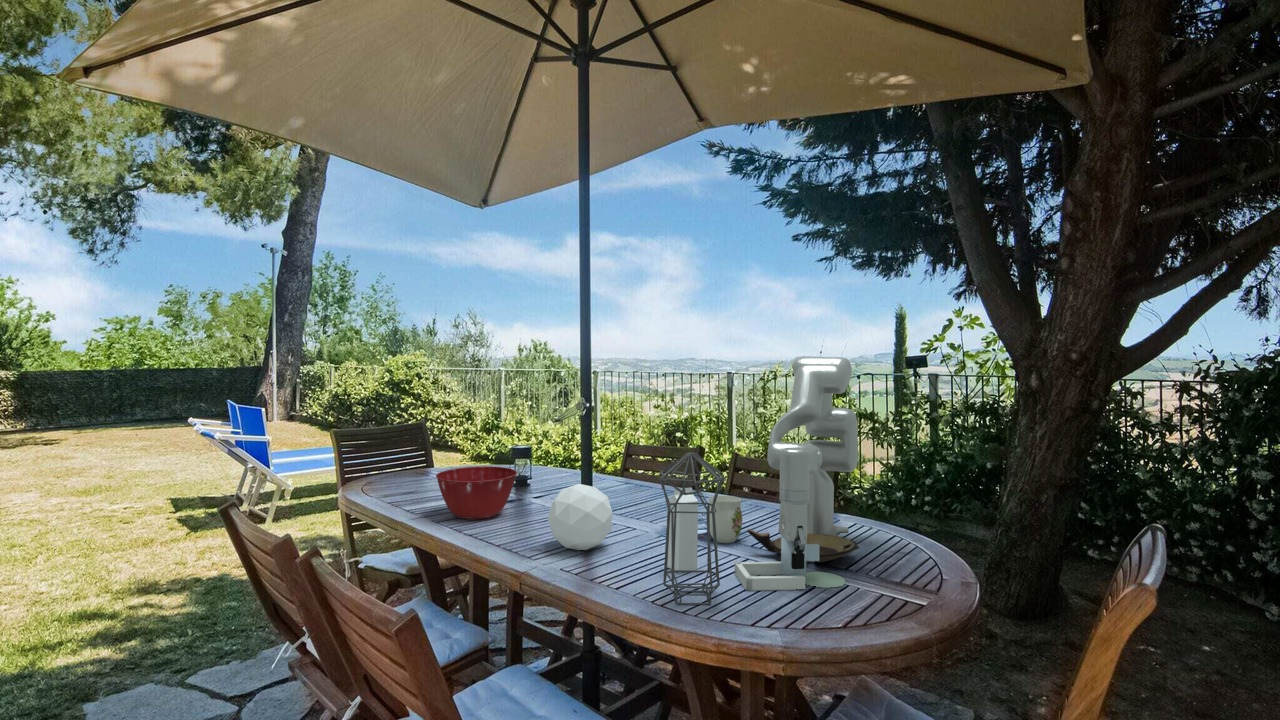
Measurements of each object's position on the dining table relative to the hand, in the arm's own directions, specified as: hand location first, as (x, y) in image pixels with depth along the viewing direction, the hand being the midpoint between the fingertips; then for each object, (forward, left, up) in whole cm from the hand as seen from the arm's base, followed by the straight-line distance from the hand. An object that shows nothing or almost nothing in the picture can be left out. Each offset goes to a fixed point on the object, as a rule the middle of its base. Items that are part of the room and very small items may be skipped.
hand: (793, 563), depth 171 cm
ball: (+56, -32, -5) cm, 64 cm away
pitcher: (+10, -39, -5) cm, 40 cm away
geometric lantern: (+29, +10, -5) cm, 31 cm away
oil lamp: (-9, -20, -5) cm, 22 cm away
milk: (+28, -11, -5) cm, 30 cm away
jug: (-2, 0, -2) cm, 3 cm away
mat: (-7, 0, -4) cm, 9 cm away
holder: (+7, 0, -4) cm, 8 cm away
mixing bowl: (+94, -74, -5) cm, 119 cm away
